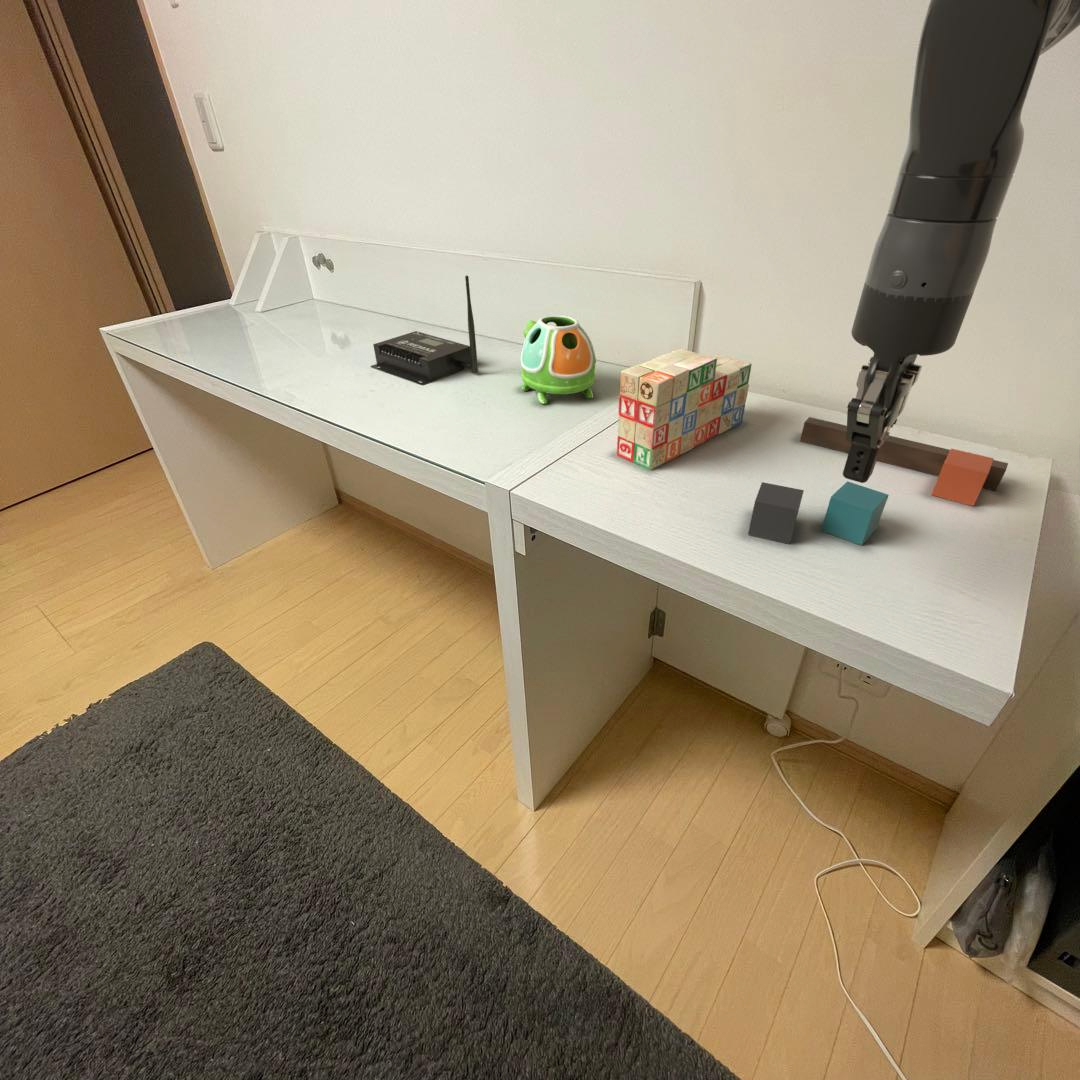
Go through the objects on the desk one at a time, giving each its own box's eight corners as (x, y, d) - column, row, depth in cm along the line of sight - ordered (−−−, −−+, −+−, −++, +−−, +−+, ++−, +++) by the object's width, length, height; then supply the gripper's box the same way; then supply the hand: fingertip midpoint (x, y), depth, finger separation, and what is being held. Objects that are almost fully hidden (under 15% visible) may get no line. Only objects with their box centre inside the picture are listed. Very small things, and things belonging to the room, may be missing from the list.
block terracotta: (979, 490, 75) (994, 458, 72) (973, 506, 72) (988, 473, 70) (938, 480, 77) (951, 448, 75) (931, 495, 75) (944, 462, 72)
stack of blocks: (708, 411, 96) (719, 332, 89) (742, 423, 92) (757, 342, 85) (615, 455, 85) (620, 369, 78) (650, 471, 81) (658, 382, 74)
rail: (998, 484, 76) (1008, 463, 74) (996, 491, 75) (1006, 469, 73) (804, 436, 88) (809, 416, 87) (799, 441, 87) (804, 421, 85)
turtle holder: (563, 365, 115) (562, 299, 108) (609, 399, 101) (612, 326, 94) (501, 376, 111) (497, 308, 104) (540, 412, 98) (538, 337, 91)
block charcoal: (795, 523, 70) (803, 490, 68) (789, 544, 67) (798, 510, 64) (754, 515, 72) (762, 481, 69) (747, 535, 69) (754, 501, 66)
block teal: (876, 528, 69) (889, 494, 66) (861, 545, 66) (873, 511, 64) (837, 514, 72) (847, 480, 69) (820, 530, 69) (830, 496, 66)
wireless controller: (369, 366, 117) (351, 271, 107) (425, 347, 126) (413, 258, 116) (437, 390, 106) (424, 287, 96) (494, 368, 115) (487, 271, 105)
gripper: (957, 308, 41) (879, 522, 51) (989, 270, 49) (916, 461, 59) (841, 292, 45) (790, 494, 55) (889, 260, 53) (837, 441, 63)
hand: (856, 477), depth 57 cm, fingers closed
